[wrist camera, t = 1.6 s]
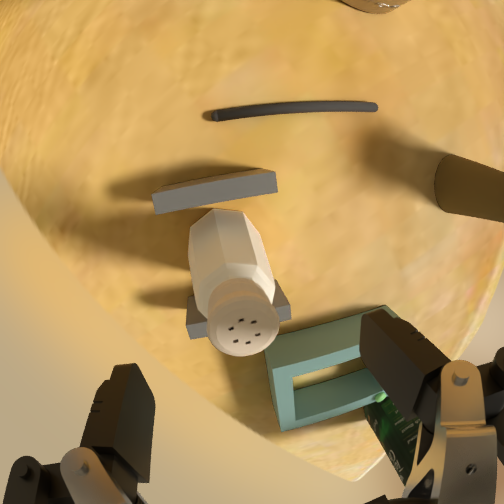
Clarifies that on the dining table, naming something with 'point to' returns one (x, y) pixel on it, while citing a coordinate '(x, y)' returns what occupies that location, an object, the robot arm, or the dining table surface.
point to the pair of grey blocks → (212, 193)
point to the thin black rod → (293, 109)
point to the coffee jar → (394, 434)
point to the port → (315, 358)
